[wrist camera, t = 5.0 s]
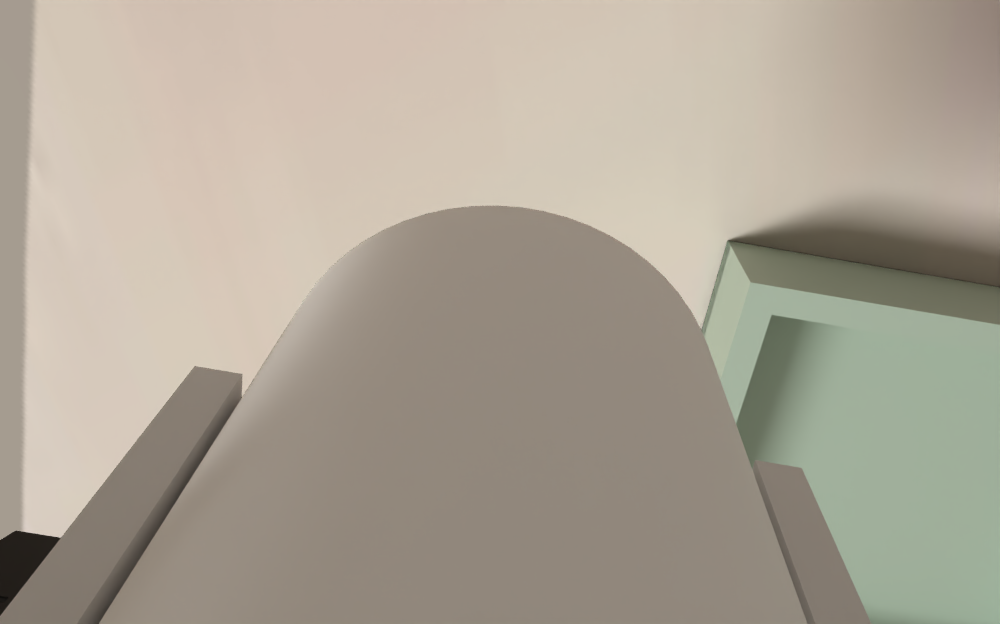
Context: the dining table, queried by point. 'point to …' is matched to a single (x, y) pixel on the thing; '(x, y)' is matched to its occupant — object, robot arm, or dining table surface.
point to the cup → (475, 450)
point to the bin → (874, 417)
